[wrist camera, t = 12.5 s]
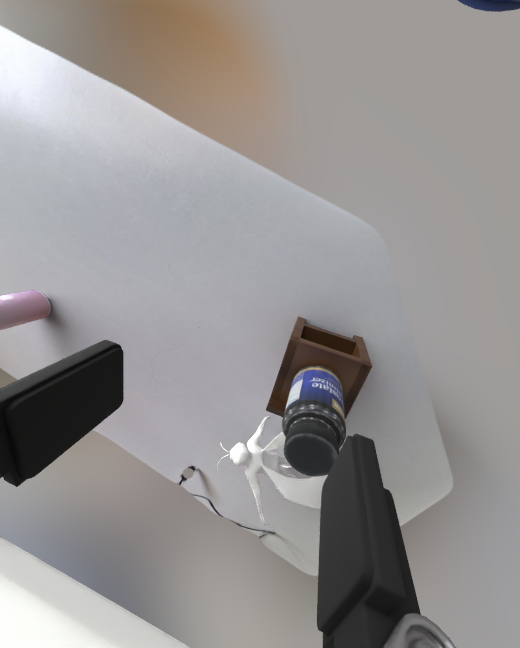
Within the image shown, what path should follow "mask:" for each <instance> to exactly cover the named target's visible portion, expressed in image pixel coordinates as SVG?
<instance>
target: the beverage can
mask: <svg viewBox="0 0 520 648" xmlns="http://www.w3.org/2000/svg"><path fill="white" fill-rule="evenodd" d="M50 312H51V304H50V301H49V299H48V298H47V297H46V296H45V295H44V294H43V293H41V292H39V291H35V290H31V291H25V292H19V293H14V294H8V295H2V296H0V330H3V329H6V328H10V327H13V326H17V325H21V324H24V323H28V322H31V321H35V320H38V319H42V318H45V317H47V316H48V315H49V314H50Z"/></svg>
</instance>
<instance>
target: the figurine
mask: <svg viewBox="0 0 520 648" xmlns="http://www.w3.org/2000/svg"><path fill="white" fill-rule="evenodd" d="M267 418H270V417H268V416H267V417H265V418H264V419H263V421H262V423H261V424H260V426H259V428H258V430H257V431H256V433H255V434H254V435H253V436H252V438H250V439H249V441H248V443H247V446H246V445H244V444H243V443H237V444H236V445H235V446H234V447H233V448H232V449H231V451H230V458H231V460H232V461H233V462H234V463H235V464H236V465H239V466H240V465H245V473H246V476H247V478H248V480H249V483H250V485H251V488H252V490H253V492H254V495H255V499H256V503H257V507H258V510H259V513H260V518H261V521H262V523H263V525H269V524H267V522H266V521H265V519H264V516H263V514H262V510H263V508H262V496H261V489H260V485H259V484H260V483H259V479H258V476H257V473H263V474H265V475H266V476H268V477H270V479H271V480H272V482H273V483H274V485H275V486H276V488H277V489H278V491H279V492H280V493H281V494H282V496H283V497H284V498H285V499H287V500H290V501H292V502H295V503H298V504H300V505H303V506H307V507H311V508H317V509H321V492H322V487H323V484H324V482H325V480H326V478H327V476H328V475H324V476H314V477H312V478H309V479H297V477H296V476H295V475H290V474H288V473H284V472H283V471H282V470H281V469H280V467H279V464H281V465H282V467H285V468H293V467H292V466H291V465H290V464H289V463H288V461H287V460H286V458H285V457H283V456H281V455H279V454H277V453H274V452H267V451H270V450H275V449H283V448H284V444H285V435H284V433H283V432H281V433H280V434H279V435H278V436H277V437H276V438H275V439H274V440H272V441H271V442H270V443H269V444H268V445H267V446H266V447H265V448H264V449H261V448H260V447H259V445H258V444H259V442H260V439H261V436H262V434H263V430H264V425H265V421H266V419H267ZM221 439H222V438H221ZM220 443H221V442H220ZM221 447H222V446H221ZM222 448H223V447H222ZM223 449H224V448H223ZM224 450H226V449H224ZM226 451H227V450H226ZM228 452H229V451H228ZM226 456H227V455H226ZM224 457H225V456H224ZM222 458H223V457H222ZM222 458H221V459H222ZM221 459H220V460H221ZM220 460H219V461H220ZM218 463H219V462H218ZM264 522H265V523H264Z"/></svg>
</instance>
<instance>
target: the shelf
mask: <svg viewBox="0 0 520 648" xmlns="http://www.w3.org/2000/svg"><path fill="white" fill-rule="evenodd" d="M305 320H306V319H304V318H301V317H298V319H297V321H296V324H295V327H294V329H293V332H292V335H291V337H290V340H289V343H288V346H287V349H286V352H285V355H284V358H283V361H282V364H281V367H280V370H279V373H278V376H277V379H276V382H275V385H274V388H273V391H272V394H271V397H270V400H269V403H268V405H267V408H266V411H269V412H271V413H274V414H276V415H279V416H281V417H283V416H284V413H285V409H286V405H287V401H288V397H289V394H290V390H291V386H292V383H293V379H294V377H295V375H296V374H297V373H298V372H299V371H300V370H301V369H303V368H305V367H307V366H323V367H326V368H328V369H330V370H332V371H333V372H334V373H335V374H336V375H337V376H338V377H339V379H340V380H341V383H342V390H343V402H344V415H345V419H346V417H347V415H348V413H349V411H350V409H351V407H352V405H353V403H354V401H355V399H356V397H357V395H358V393H359V391H360V390H361V388H362V386H363V384H364V382H365V380H366V378H367V376H368V374H369V372H370V370H371V368H372V364H371V361H370V359H369V356H368V353H367V350H366V347H365V344H364V341H363V338H362V337H359V336H356V335H354V337H353V339H351V338H348V337H345V336H342V335H339V334H336V333H333V332H330V331H327V330H324V329H321V328H318V327H315V326H312V325H308V324H304V323H305Z"/></svg>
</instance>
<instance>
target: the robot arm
mask: <svg viewBox="0 0 520 648" xmlns="http://www.w3.org/2000/svg"><path fill="white" fill-rule="evenodd" d="M122 402H123V350H122V349H121V346H120V345H119V344H116V343H113V342H111V341H108V340H104V341H101V342H99V343H97V344H95V345H93V346H90V347H88V348H86V349H84V350H82V351H80V352H78V353H75V354H73V355H71V356H69V357H67V358H65V359H63V360H60V361H58V362H56V363H54V364H52V365H50V366H47V367H45V368H43V369H41V370H39V371H37V372H35V373H32V374H30V375H28V376H26V377H24V378H22V379H20V380H17V381H15V382H13V383H11V384H9V385H7V386H5V387H2V388H0V478H1V477H3V478H4V480H5V481H7V482H9V483H11V484H13V485H15V486H16V487H18V486H19V485H20V484H21V483H23V482H24V481H25V480H26V479H29V478H32V477H34V476H36V475H37V474H38V473H40V472H41V471H42V470H43V469H44V468H46V467H47V466H48V465H49V464H51V463H52V462H53V461H54V460H55V459H57V458H58V457H59V456H60V455H62V454H63V453H64V452H65V451H66V450H68V449H69V448H70V447H71V446H72V445H74V444H75V443H76V442H77V441H79V440H80V439H81V438H82V437H84V436H85V435H86V434H87V433H88V432H90V431H91V430H92V429H93V428H95V427H96V426H97V425H98V424H99V423H101V422H102V421H103V420H104V419H106V418H107V417H108V416H109V415H111V414H112V413H113V412H114V411H115V410H117V409H118V408H119V407H120V406H121V404H122ZM317 626H318V630H319V631H321V632H323V648H456V647H455V646H454V644H453V643H452V641H451V640H450V638H449V637H448V636H447V635H446V634H445V633H444V632H443V631H442V630H441V629H440V628H439V627H438V626H437V625H436V624H435V623H433V622H432V621H431V620H429V619H428V618H427V617H425V616H422V615H421V614H420V609H419V606H418V601H417V597H416V593H415V588H414V584H413V580H412V576H411V572H410V568H409V563H408V560H407V555H406V551H405V546H404V542H403V538H402V534H401V530H400V525H399V521H398V517H397V513H396V509H395V504H394V500H393V497H392V494H391V493H390V491H389V490H387V489H385V488H383V483H382V478H381V473H380V469H379V464H378V459H377V454H376V450H375V445H374V441H373V440H372V439H369V438H366V437H364V436H361V435H358V434H355V435H354V436H353V437H351V436H348V437H347V439H346V441H345V443H344V445H343V446H342V448H341V450H340V452H339V454H338V456H337V458H336V460H335V462H334V464H333V466H332V468H331V470H330V472H329V474H328V476H327V478H326V480H325V482H324V484H323V487H322V492H321V517H320V546H319V574H318V604H317ZM0 648H190V647H189V646H187V645H185V644H183V643H181V642H180V641H178V640H177V639H175V638H173V637H172V636H170V635H168V634H167V633H165V632H163V631H161V630H160V629H158V628H156V627H154V626H153V625H151V624H150V623H148V622H146V621H144V620H143V619H141V618H139V617H138V616H136V615H134V614H132V613H131V612H129V611H127V610H126V609H124V608H122V607H121V606H119V605H117V604H116V603H114V602H112V601H110V600H108V599H107V598H105V597H103V596H102V595H100V594H98V593H96V592H95V591H93V590H91V589H90V588H88V587H86V586H84V585H83V584H81V583H79V582H78V581H76V580H74V579H73V578H71V577H69V576H67V575H66V574H64V573H62V572H60V571H58V570H57V569H55V568H54V567H52V566H50V565H48V564H47V563H45V562H43V561H41V560H40V559H38V558H36V557H35V556H33V555H31V554H29V553H27V552H26V551H24V550H22V549H21V548H19V547H17V546H15V545H14V544H12V543H10V542H8V541H7V540H5V539H3V538H2V537H0Z"/></svg>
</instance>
